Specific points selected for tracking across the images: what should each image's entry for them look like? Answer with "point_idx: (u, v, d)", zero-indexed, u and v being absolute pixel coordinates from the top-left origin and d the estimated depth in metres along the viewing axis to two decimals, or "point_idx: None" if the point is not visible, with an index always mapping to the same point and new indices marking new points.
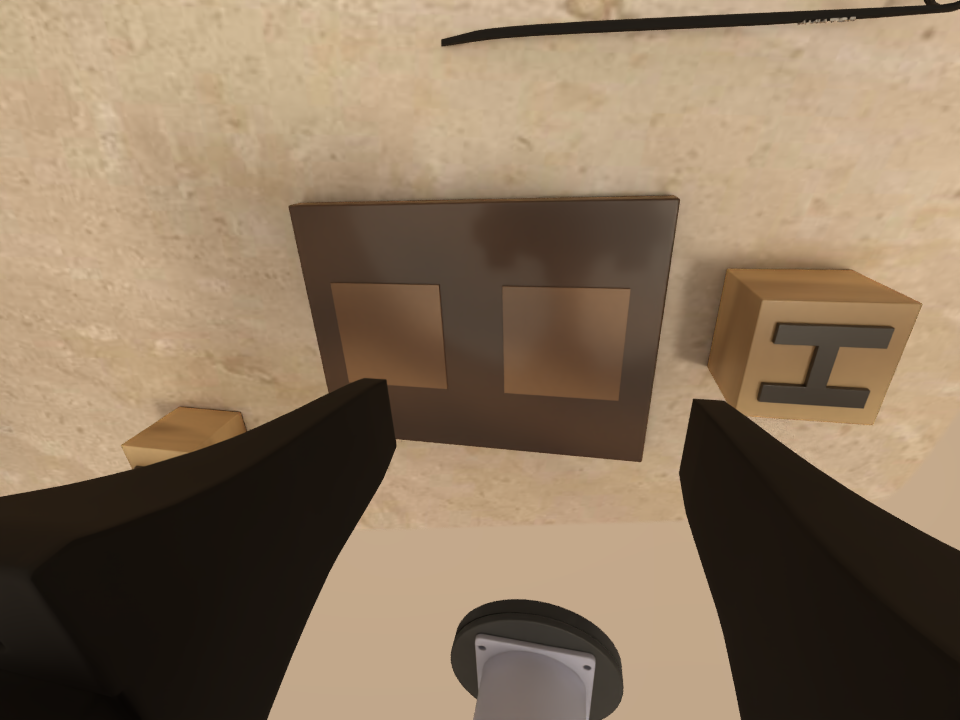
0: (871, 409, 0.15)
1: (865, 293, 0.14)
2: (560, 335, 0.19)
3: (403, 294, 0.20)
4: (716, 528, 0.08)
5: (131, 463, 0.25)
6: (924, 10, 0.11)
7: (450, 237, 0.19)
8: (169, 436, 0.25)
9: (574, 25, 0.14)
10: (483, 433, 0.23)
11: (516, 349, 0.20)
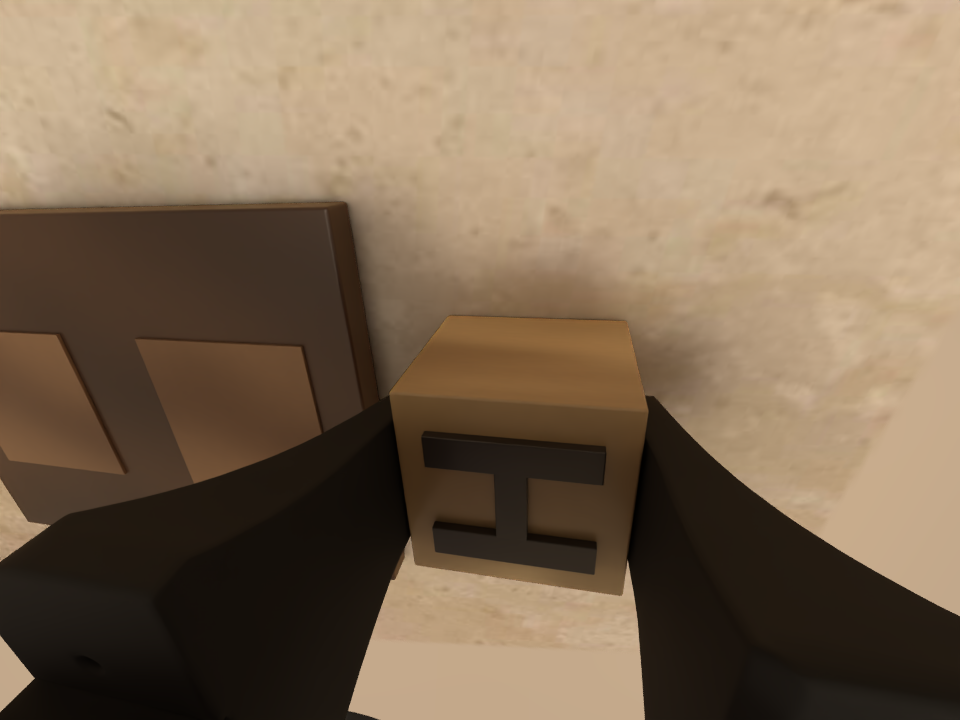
0: (612, 573, 0.09)
1: (580, 378, 0.08)
2: (236, 409, 0.13)
3: (19, 347, 0.14)
4: (634, 519, 0.08)
5: None
6: None
7: (44, 266, 0.12)
8: None
9: None
10: None
11: (186, 427, 0.14)
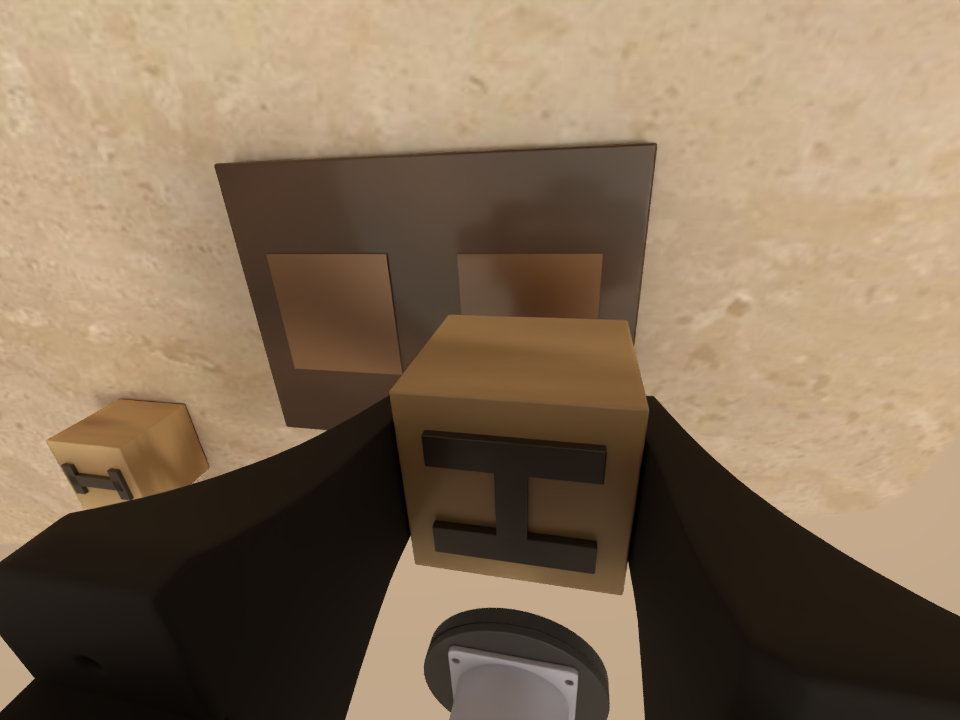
0: (612, 573, 0.09)
1: (581, 377, 0.08)
2: (525, 310, 0.17)
3: (347, 266, 0.18)
4: (634, 519, 0.08)
5: (58, 460, 0.22)
6: None
7: (396, 197, 0.16)
8: (101, 430, 0.22)
9: None
10: None
11: None
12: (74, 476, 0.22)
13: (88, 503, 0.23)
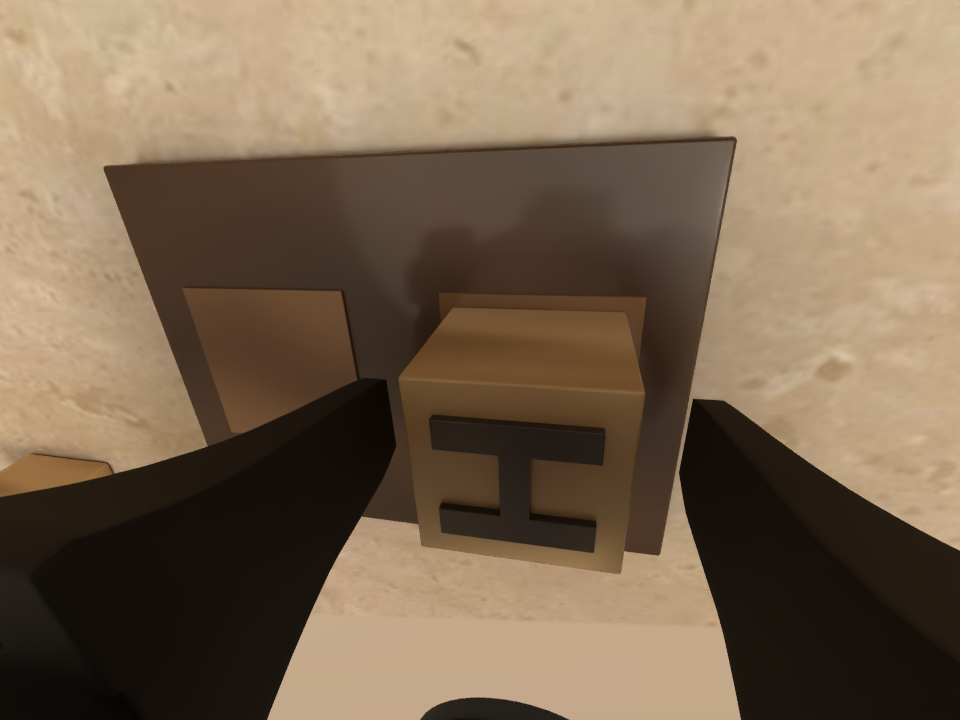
0: (611, 552, 0.09)
1: (580, 364, 0.08)
2: None
3: (289, 306, 0.13)
4: (716, 529, 0.08)
5: None
6: None
7: (351, 214, 0.11)
8: None
9: None
10: None
11: None
12: None
13: None
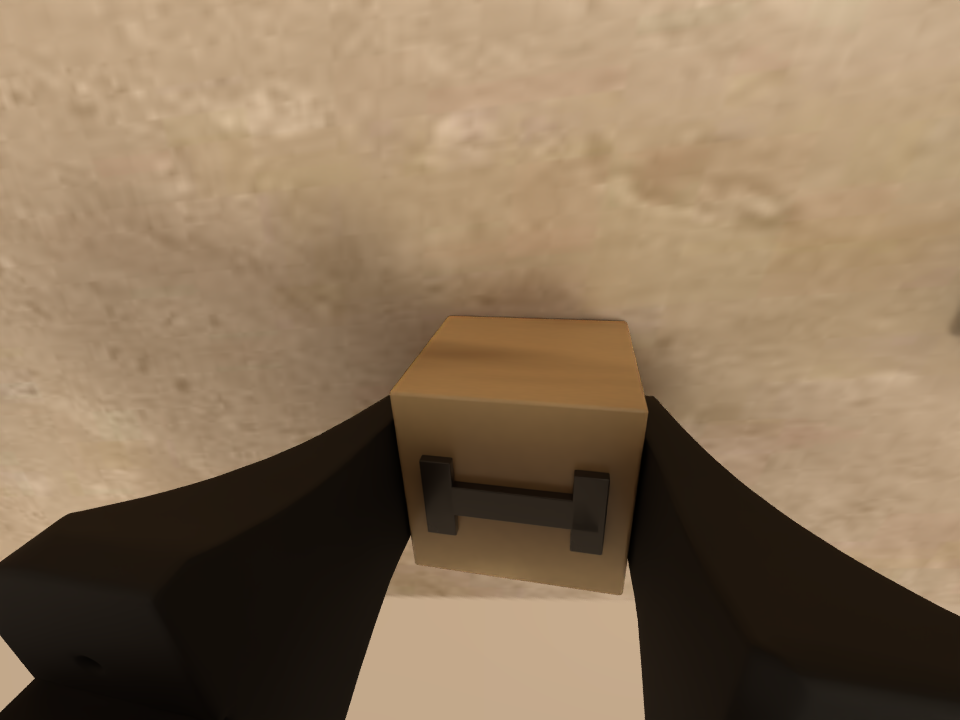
0: None
1: None
2: None
3: None
4: (634, 519, 0.08)
5: (406, 448, 0.08)
6: None
7: None
8: (514, 370, 0.08)
9: None
10: None
11: None
12: (445, 491, 0.08)
13: (439, 555, 0.09)
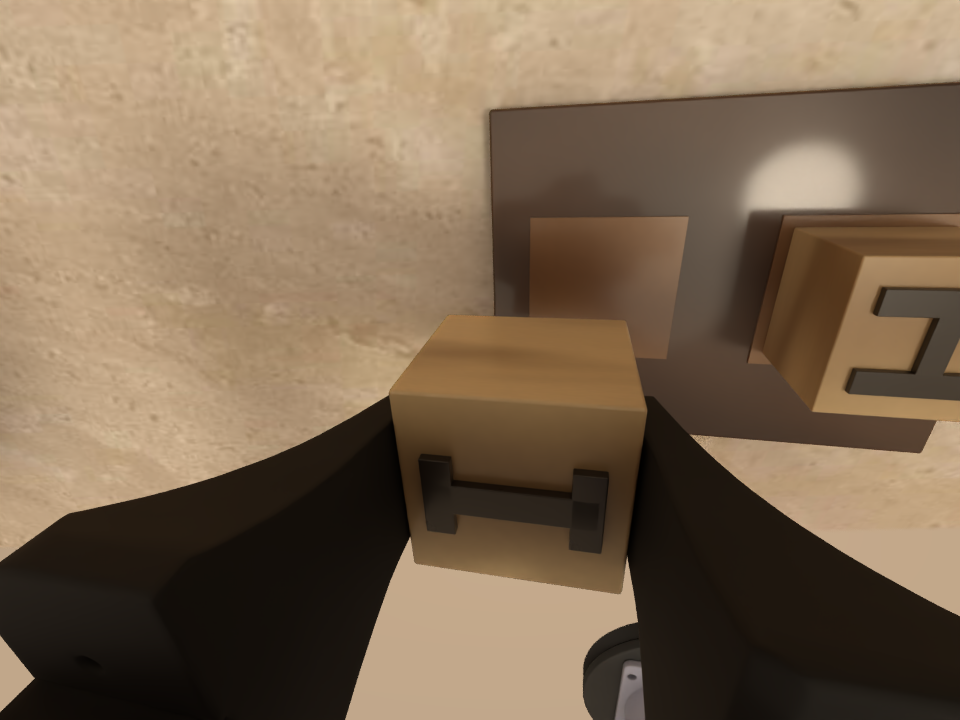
0: None
1: None
2: None
3: (633, 231, 0.15)
4: (635, 519, 0.08)
5: (405, 447, 0.08)
6: None
7: (721, 147, 0.14)
8: (513, 368, 0.08)
9: None
10: (701, 417, 0.18)
11: None
12: (444, 490, 0.08)
13: (438, 554, 0.09)
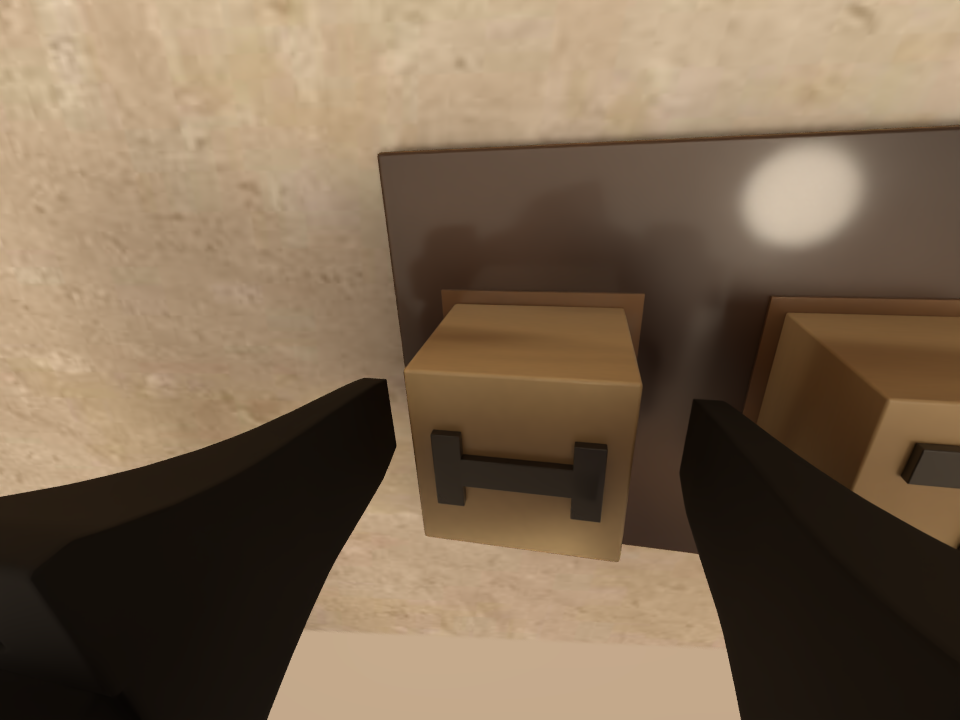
0: None
1: None
2: None
3: None
4: (716, 529, 0.08)
5: (418, 424, 0.09)
6: None
7: (685, 206, 0.10)
8: (519, 350, 0.09)
9: None
10: (671, 531, 0.14)
11: None
12: (455, 464, 0.09)
13: (447, 526, 0.10)
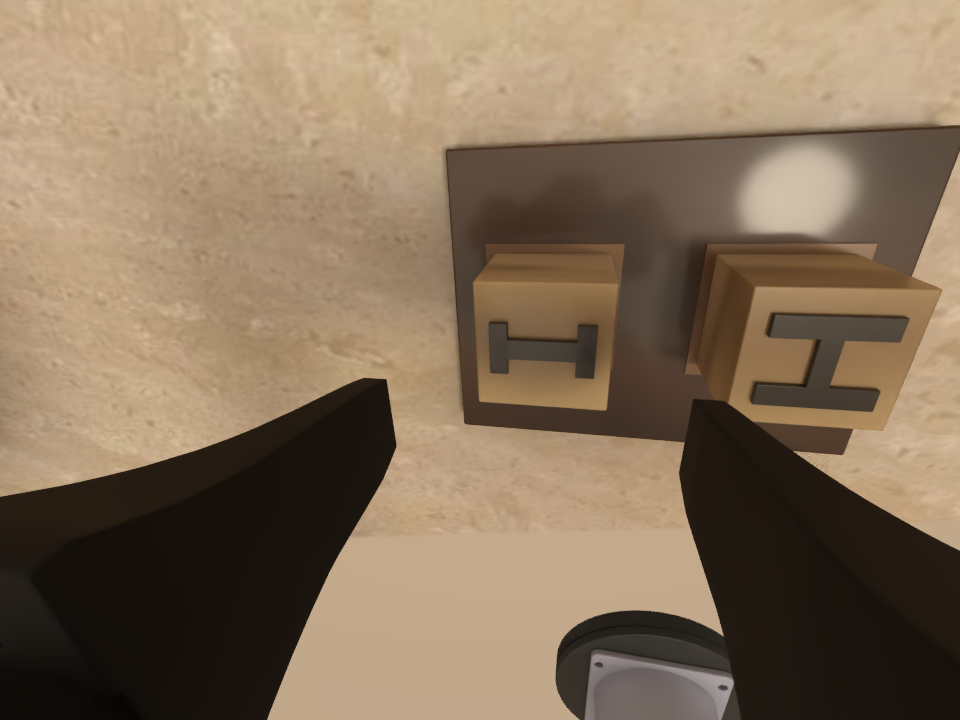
0: (881, 413, 0.13)
1: (874, 279, 0.12)
2: None
3: None
4: (716, 529, 0.08)
5: (480, 318, 0.14)
6: None
7: (649, 184, 0.15)
8: (543, 272, 0.14)
9: None
10: (647, 422, 0.19)
11: None
12: (503, 343, 0.14)
13: (494, 392, 0.16)
